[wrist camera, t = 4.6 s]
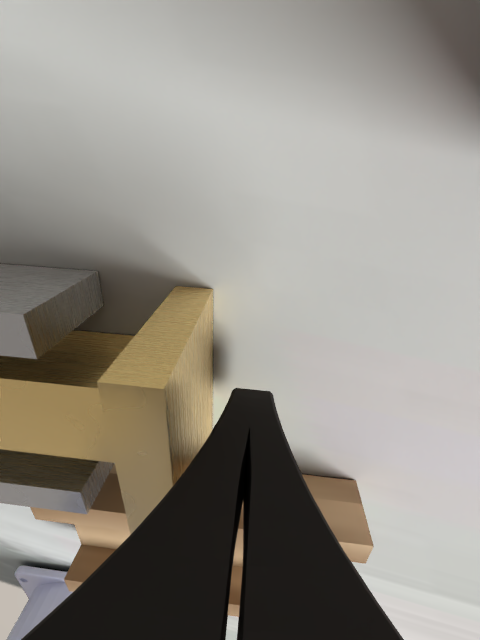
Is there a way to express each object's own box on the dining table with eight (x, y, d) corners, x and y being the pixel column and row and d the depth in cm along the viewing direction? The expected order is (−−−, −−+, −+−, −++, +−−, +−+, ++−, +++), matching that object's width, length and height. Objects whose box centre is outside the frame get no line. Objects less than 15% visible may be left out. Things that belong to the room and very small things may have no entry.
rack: (325, 567, 16) (333, 630, 14) (95, 536, 17) (69, 591, 15) (355, 480, 13) (373, 546, 11) (67, 446, 14) (27, 500, 11)
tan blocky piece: (212, 443, 13) (181, 583, 8) (-18, 417, 13) (-156, 535, 9) (213, 289, 9) (164, 388, 5) (-91, 265, 10) (-359, 335, 6)
